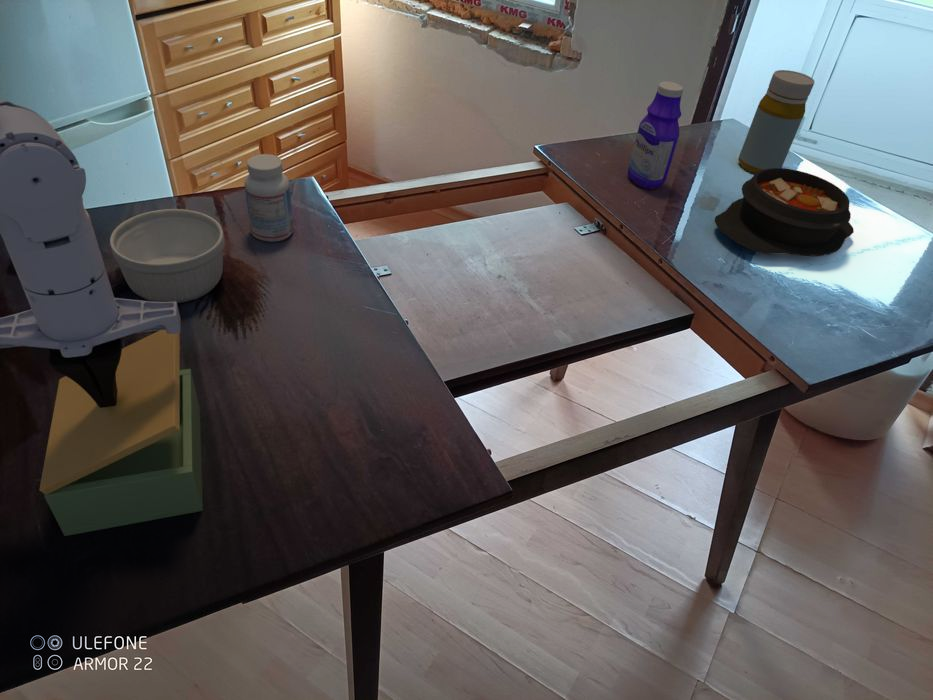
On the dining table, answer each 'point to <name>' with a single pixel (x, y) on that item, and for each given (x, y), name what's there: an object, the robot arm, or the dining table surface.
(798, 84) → the bottle
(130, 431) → the yellow box lid
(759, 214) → the casserole
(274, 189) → the pill bottle
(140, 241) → the ramekin
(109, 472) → the green open cubby
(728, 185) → the dining table surface
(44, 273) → the robot arm
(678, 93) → the bottle
